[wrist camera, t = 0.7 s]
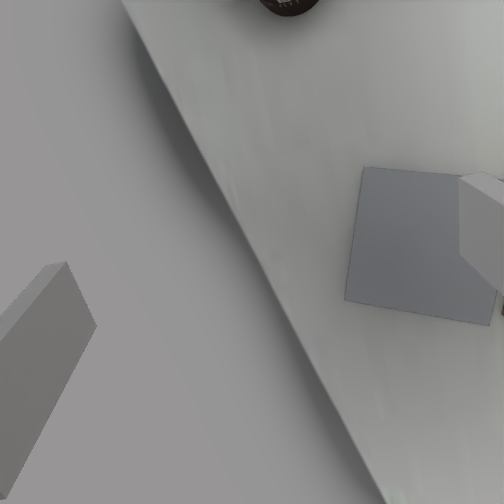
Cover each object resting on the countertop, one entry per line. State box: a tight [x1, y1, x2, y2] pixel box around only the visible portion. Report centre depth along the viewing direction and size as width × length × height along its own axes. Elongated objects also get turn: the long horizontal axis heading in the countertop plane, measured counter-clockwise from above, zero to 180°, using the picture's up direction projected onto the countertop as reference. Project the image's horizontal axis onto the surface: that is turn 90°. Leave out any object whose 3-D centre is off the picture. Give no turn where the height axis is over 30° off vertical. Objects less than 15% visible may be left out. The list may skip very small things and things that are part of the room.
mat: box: [344, 167, 504, 326], centre depth 37 cm, size 12×12×1 cm
